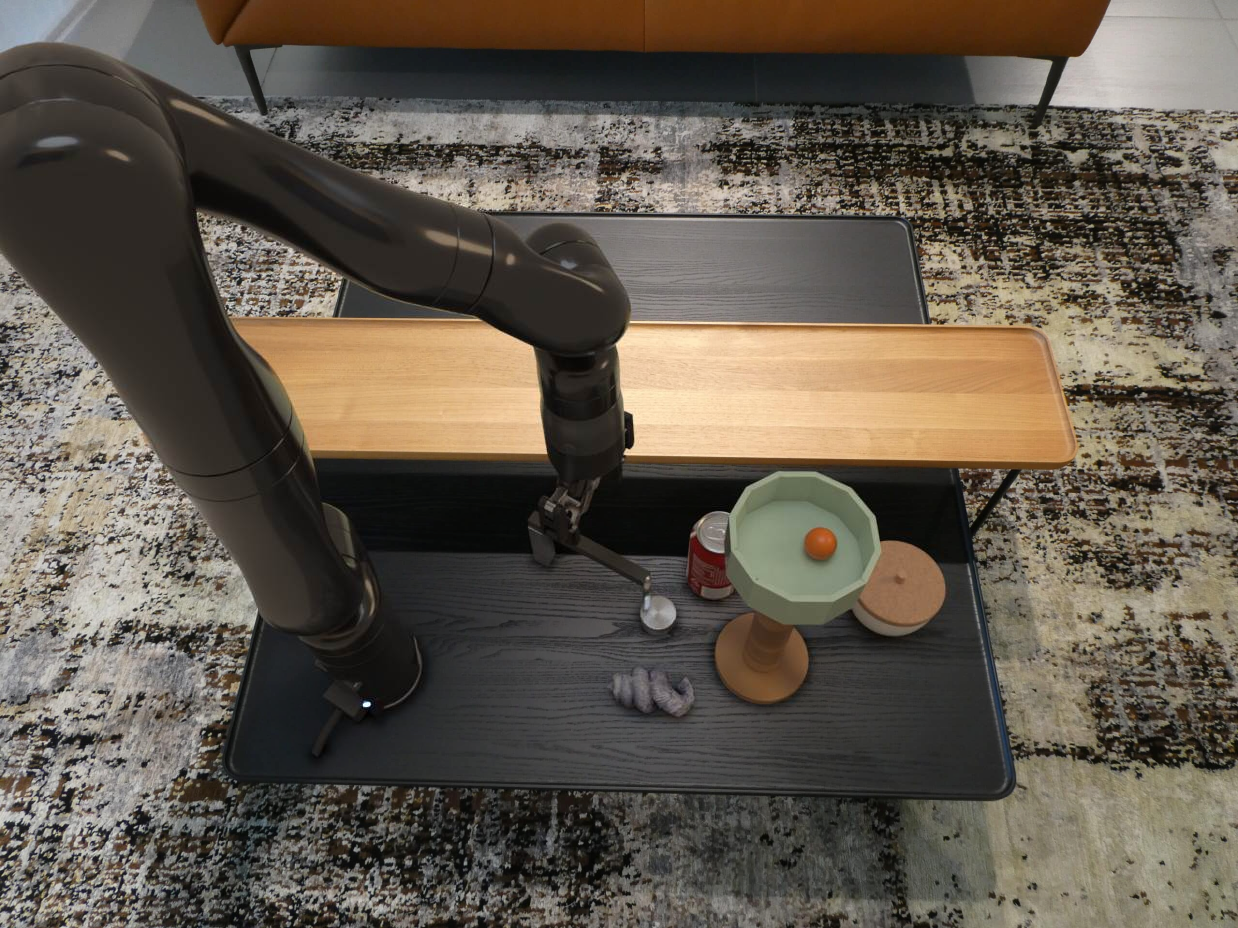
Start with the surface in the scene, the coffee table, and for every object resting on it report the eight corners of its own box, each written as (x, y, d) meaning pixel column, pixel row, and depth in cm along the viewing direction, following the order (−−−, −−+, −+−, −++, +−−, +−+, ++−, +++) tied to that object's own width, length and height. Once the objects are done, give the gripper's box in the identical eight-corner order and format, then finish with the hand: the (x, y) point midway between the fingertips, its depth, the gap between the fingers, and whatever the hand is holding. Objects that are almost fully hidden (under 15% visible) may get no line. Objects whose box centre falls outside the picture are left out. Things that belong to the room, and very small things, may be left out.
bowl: (832, 650, 74) (844, 628, 70) (700, 581, 78) (703, 556, 74) (887, 537, 80) (901, 510, 76) (762, 478, 84) (768, 449, 80)
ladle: (682, 613, 104) (686, 577, 96) (664, 642, 102) (667, 608, 94) (548, 541, 110) (541, 501, 102) (529, 567, 108) (520, 529, 100)
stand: (783, 721, 96) (826, 633, 75) (698, 674, 100) (716, 576, 78) (821, 643, 102) (872, 539, 80) (739, 600, 105) (767, 489, 83)
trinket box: (936, 589, 105) (960, 554, 98) (913, 663, 100) (936, 633, 92) (853, 556, 108) (870, 519, 100) (826, 626, 103) (842, 594, 95)
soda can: (735, 606, 104) (746, 562, 94) (681, 596, 105) (686, 552, 95) (742, 558, 108) (753, 511, 98) (690, 549, 109) (695, 502, 99)
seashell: (693, 699, 99) (609, 695, 100) (695, 660, 98) (609, 655, 98) (693, 727, 94) (604, 722, 95) (695, 685, 93) (605, 681, 93)
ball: (826, 570, 78) (832, 555, 75) (796, 556, 79) (801, 540, 76) (838, 546, 79) (845, 530, 77) (809, 531, 80) (814, 515, 77)
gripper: (589, 353, 81) (596, 448, 95) (504, 458, 75) (525, 544, 88) (657, 383, 79) (654, 476, 93) (575, 495, 73) (585, 577, 86)
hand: (591, 509), depth 90 cm, fingers open, 8 cm apart
